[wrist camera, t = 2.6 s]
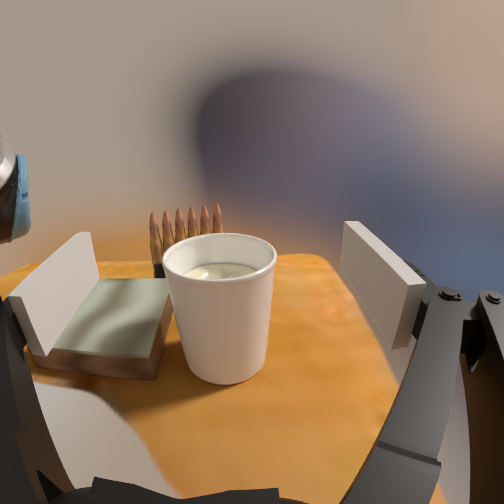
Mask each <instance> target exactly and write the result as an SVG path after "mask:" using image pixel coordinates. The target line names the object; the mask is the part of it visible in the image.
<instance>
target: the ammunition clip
mask: <svg viewBox="0 0 504 504" xmlns="http://www.w3.org/2000/svg"><path fill="white" fill-rule="evenodd" d="M200 220H201V232H200V235H205V234H211V231H210V225H209V216H208V212H207V209H206V206H205V205H203V207H202V210H201V219H200ZM162 223H163V224H162V227H163V248H162V242H161V239H160V235H159V229H158V224H157V220H156V217H155V215H154V213H153V212H152V213H151V216H150V248H151V254H152V262H153V269H154V278H166V276H165V272H164V269H163V266H162V257H163V249H164V253H165V252H166V250H167V249H168V248H170V247H171V246H172V245H174V244H176V243H178V242H180V241H182V240H185V239H187V238H186V235H185V228H184V222H183V217H182V214H181V211H180V209H177V211H176V217H175V227H176V229H175V231H176V236H175V242H174V238H173V234H172V229H171V223H170V218H169V215H168V213H167V211H166V210H165V211H164V213H163V221H162ZM214 233H223V228H222V219H221V212H220V208H219V206H218V204H217V203H216V204H215V207H214V212H213V232H212V234H214ZM195 236H199V235H198V231H197V223H196V217H195V213H194V210H193V208H192V207H190V209H189V213H188V238H191V237H195Z"/></svg>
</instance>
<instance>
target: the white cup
mask: <svg viewBox="0 0 504 504" xmlns="http://www.w3.org/2000/svg"><path fill="white" fill-rule="evenodd" d="M276 261H277V254H276V250H275V249H274V247H273V246H272V245H271V244H269V243H268V242H266V241H264V240H262V239H260V238H257V237H253V236H249V235H243V234H236V233H214V234H205V235H199V236H195V237H191V238H188V239H185V240H182V241H180V242H178V243H176V244H174V245H172V246H171V247H170V248H168V249H167V250H166V252H165V253H164V255H163V257H162V266H163V269H164V272H165V276H166V281H167V285H168V290H169V294H170V299H171V303H172V307H173V312H174V316H175V320H176V324H177V328H178V332H179V336H180V340H181V344H182V348H183V351H184V355H185V358H186V361H187V364H188V366H189V368H190V370H191V371H192V372H193V373H194V374H195V375H196V376H197V377H199V378H200V379H202V380H204V381H207V382H209V383H213V384H220V385H229V384H236V383H240V382H243V381H246V380H248V379H250V378H251V377H253V376H254V375H256V374H257V373H258V372H259V371H260V369H261V368H262V366H263V364H264V362H265V357H266V351H267V343H268V334H269V324H270V315H271V305H272V294H273V284H274V274H275V265H276Z"/></svg>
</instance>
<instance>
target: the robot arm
mask: <svg viewBox="0 0 504 504" xmlns="http://www.w3.org/2000/svg"><path fill="white" fill-rule="evenodd" d="M27 178H28V177H27V160H26V157H25V156H24V155H15V153H14V150H13V147H12V146H11V145H10V143H8V142H7V141H5V140H3V139H1V136H0V244H3V243H7V242H8V243H9V242H11V241H12V240H13V239H16V238H19V237H22V236H24V235H26V234H27V233H28V232H29V230H30V226H31V221H30V207H29V197H28V179H27ZM340 272H341V273H342V275H343V276H344V278H345V279H346V281H347V282H348V284H349V285H350V287H351V288H352V290H353V291H354V293H355V294H356V296H357V297H358V299H359V300H360V302H361V304H362V305H363V306H364V308H365V310H366V311H367V313H368V314H369V316H370V318H371V319H372V321H373V322H374V324H375V325H376V327H377V329H378V330H379V332H380V333H381V335H382V337H383V338H384V340H385V342H386V343H387V345H388V346H389V348H390V350H393V349H399V348H405V347H408V345H409V341H410V339H411V335H412V334H413V336H414V337H415V338H416V340H417V342H416V345H415V347H414V350H413V353H412V355H411V358H410V361H409V364H408V367H407V370H406V372H405V375H404V378H403V380H402V383H401V385H400V388H399V390H398V393H397V395H396V397H395V400H394V402H393V404H392V407H391V409H390V411H389V413H388V416H387V418H386V420H385V422H384V424H383V426H382V428H381V431H380V433H379V435H378V437H377V439H376V441H375V443H374V445H373V447H372V448H371V450H370V452H369V454H368V456H367V458H366V460H365V462H364V463H363V465H362V467H361V469H360V470H359V472H358V474H357V476H356V477H355V479H354V481H353V482H352V484H351V486H350V487H349V489H348V491H347V492H346V494H345V495H344V497H343V498H342V500H341V501H340V503H339V504H429V502H430V500H431V497H432V495H433V492H434V489H435V486H436V483H437V481H438V478H439V474H440V470H441V462H438V461H437V456H438V452H439V449H440V446H441V442H442V438H443V435H444V431H445V428H446V424H447V420H448V415H449V411H450V407H451V402H452V397H453V392H454V387H455V381H456V375H457V369H458V362H459V358H460V364H461V369H462V376H463V382H464V388H465V397H466V405H467V414H468V426H469V441H470V503H469V504H504V297H503V296H502V295H500V294H499V293H496V292H495V291H489V290H484V291H481V292H480V294H479V297H478V300H477V302H471V301H464V297H463V296H462V295H461V293H459V292H458V291H456V290H454V289H451V288H448V287H437V286H436V285H435V284H434V283H433V282H432V281H431V280H430V279H428V278H427V277H426V276H424V274H423V273H422V272H421V271H420V270H419V269H418V268H416V267H415V266H414V265H413V264H411V263H409V262H407V261H405V260H402V259H400V258H399V257H398V256H397V255H396V254H395V253H394V252H393V251H392V250H391V249H389V248H388V247H387V246H386V245H385V244H384V243H383V242H381V241H380V240H379V239H378V238H377V237H376V236H375V235H374V234H372V233H371V232H370V231H369V230H368V229H367V228H365V227H364V226H363V225H362V224H361V223H360V222H358V221H345V222H344V233H343V243H342V252H341V262H340ZM99 279H100V277H99V273H98V269H97V264H96V260H95V255H94V251H93V246H92V241H91V236H90V232H79V233H77V234H75V235H74V236H73V237H72V238H71V239H69V240H68V241H67V242H66V243H65V244H63V245H62V246H61V247H60V248H59V249H58V250H56V252H54V253H53V254H52V255H51V256H50V257H48V259H46V260H45V261H44V262H43V263H42V264H41V265H40V266H38V267H37V268H36V269H35V270H34V271H33V272H32V273H31V274H30V275H29V276H28V277H27V278H25V279H24V280H23V281H22V282H21V283H20V284H19V285H18V286H17V287H16V288H15V289H14V290H13V291H12V292H11V293H10V294H9V295H8V297H7V298H6V299H5V300H4V301H3V302H2V299H1V296H0V504H308V503H304V502H301V501H297V500H292V499H286V498H279V491H278V488H269V489H254V490H229V491H225V492H220V493H215V494H210V495H205V496H200V497H194V498H188V499H176V498H172V497H169V496H165V495H163V494H160V493H157V492H154V491H151V490H149V489H146V488H143V487H140V486H138V485H135V484H130V483H124V482H118V481H113V480H108V479H103V478H98V477H94V479H93V483H92V487H86V488H79V489H75V488H74V486H73V485H72V483H71V481H70V480H69V478H68V475H67V473H66V471H65V469H64V467H63V465H62V462H61V460H60V458H59V456H58V453H57V451H56V448H55V446H54V443H53V441H52V438H51V436H50V433H49V430H48V428H47V425H46V422H45V419H44V416H43V414H42V410H41V407H40V404H39V401H38V397H37V394H36V391H35V387H34V384H33V380H32V376H31V372H30V368H29V364H28V360H27V356H26V354H25V352H24V350H23V348H24V347H25V345H26V344H28V346H29V348H30V350H31V352H32V354H33V355H37V356H44V357H47V355H48V354H49V352H50V351H51V349H52V347H53V346H54V344H55V343H56V341H57V340H58V338H59V336H60V335H61V333H62V332H63V330H64V329H65V327H66V326H67V324H68V323H69V321H70V320H71V318H72V317H73V316H74V314H75V313H76V311H77V310H78V308H79V307H80V305H81V304H82V303H83V301H84V300H85V298H86V297H87V296H88V294H89V293H90V291H91V290H92V289H93V287H94V286H95V285H96V283H97V282H98V281H99Z"/></svg>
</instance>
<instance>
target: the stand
mask: <svg viewBox="0 0 504 504" xmlns="http://www.w3.org/2000/svg"><path fill="white" fill-rule="evenodd" d="M172 312H173V307H172V303H171V299H170V294H169V290H168V285H167V281H166V278H152V279H99V281H98V282H97V283H96V285H95V286H94V287H93V289H92V290H91V291H90V293H89V294H88V296H87V297H86V298H85V300H84V301H83V303H82V304H81V305H80V307H79V308H78V310H77V311H76V313H75V314H74V316H73V317H72V318H71V320H70V321H69V323H68V324H67V326H66V327H65V329H64V330H63V332H62V333H61V335H60V336H59V338H58V340H57V341H56V343H55V344H54V346H53V347H52V349H51V351H50V352H49V354H48V355H47V357H44V356H37V355H33V354H32V352H31V350H30V348H29V346H28V344H26V345H27V347H28V349H29V351H30V353H31V355H32V357H33V359H34V361H35V363H36V365H37V367H43V368H48V369H54V370H61V371H68V372H75V373H82V374H90V375H99V376H109V377H120V378H132V379H148V380H156V376H157V372H158V367H159V363H160V359H161V355H162V351H163V347H164V343H165V339H166V335H167V331H168V327H169V324H170V320H171V316H172Z"/></svg>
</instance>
